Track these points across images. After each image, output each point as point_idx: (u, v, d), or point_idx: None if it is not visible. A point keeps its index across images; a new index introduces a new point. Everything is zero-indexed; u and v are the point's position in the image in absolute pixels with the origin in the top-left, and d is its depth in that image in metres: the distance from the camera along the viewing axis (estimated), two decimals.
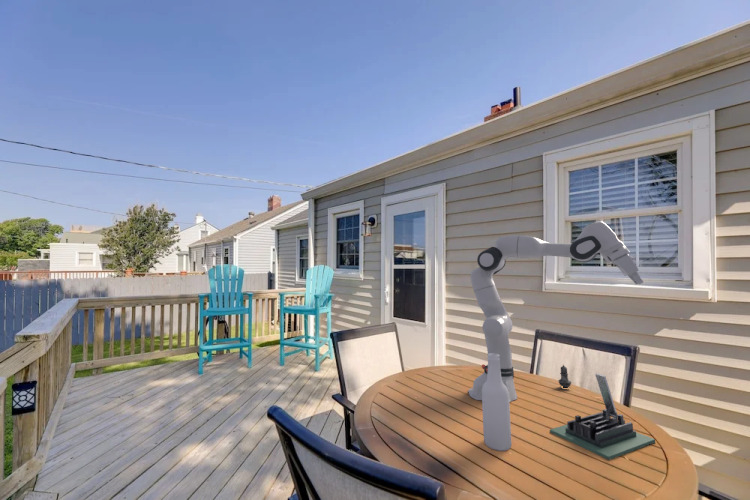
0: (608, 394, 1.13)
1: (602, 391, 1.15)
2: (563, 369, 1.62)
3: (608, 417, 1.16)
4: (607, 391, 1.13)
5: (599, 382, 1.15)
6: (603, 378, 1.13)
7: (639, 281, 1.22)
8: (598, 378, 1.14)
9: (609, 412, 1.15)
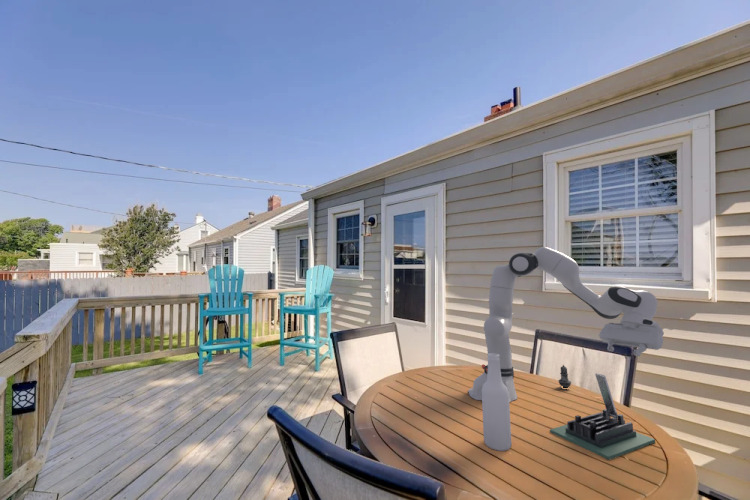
0: (608, 394, 1.13)
1: (602, 391, 1.15)
2: (563, 369, 1.62)
3: (608, 417, 1.16)
4: (607, 391, 1.13)
5: (599, 382, 1.15)
6: (603, 378, 1.13)
7: (638, 353, 1.16)
8: (598, 378, 1.14)
9: (609, 412, 1.15)
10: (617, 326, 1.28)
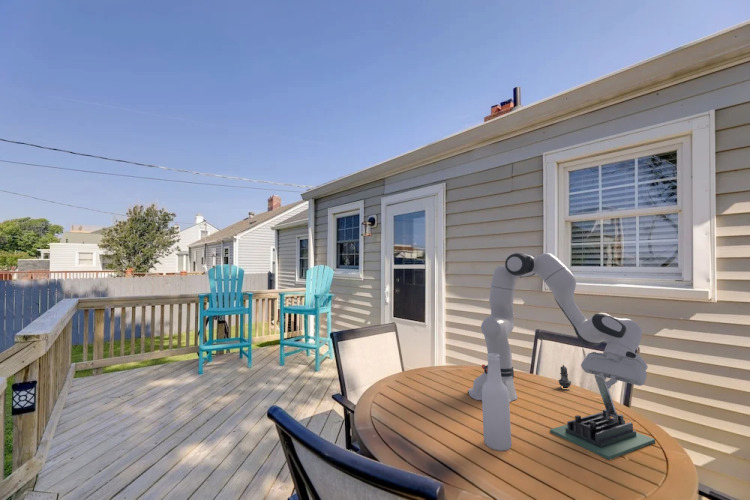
0: (607, 395, 1.13)
1: (601, 392, 1.14)
2: (563, 369, 1.62)
3: (608, 417, 1.16)
4: (606, 392, 1.13)
5: (598, 383, 1.14)
6: (602, 379, 1.12)
7: (609, 385, 1.13)
8: (597, 379, 1.14)
9: (609, 412, 1.15)
10: (600, 357, 1.22)
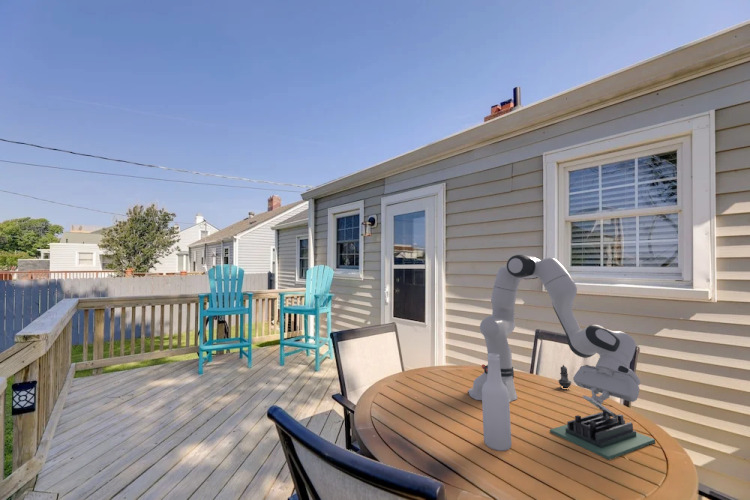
0: (601, 407, 1.11)
1: (595, 405, 1.12)
2: (563, 369, 1.62)
3: (608, 417, 1.16)
4: (600, 406, 1.10)
5: (589, 401, 1.11)
6: (591, 400, 1.09)
7: (601, 400, 1.10)
8: (587, 399, 1.11)
9: (609, 414, 1.14)
10: (592, 370, 1.19)
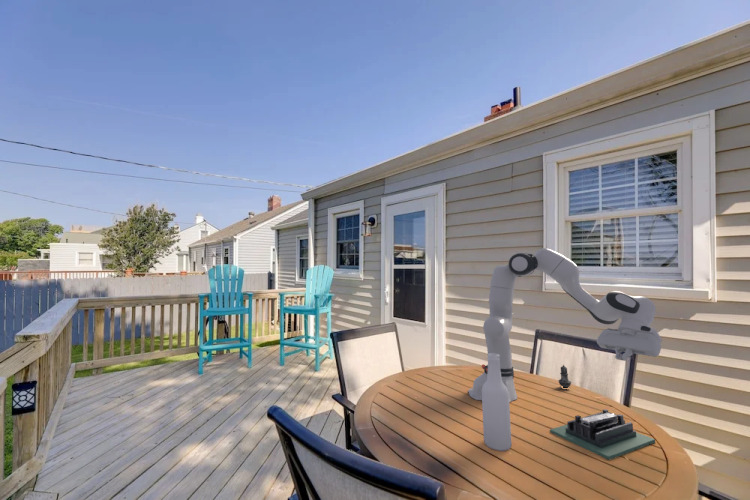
0: None
1: None
2: (563, 369, 1.62)
3: None
4: None
5: None
6: None
7: (624, 357, 1.18)
8: None
9: None
10: (615, 332, 1.27)
